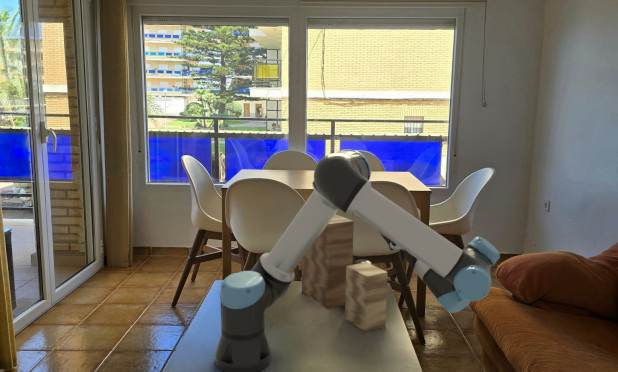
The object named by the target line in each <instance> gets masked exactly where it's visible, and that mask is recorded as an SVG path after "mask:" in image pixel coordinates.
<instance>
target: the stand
mask: <svg viewBox="0 0 618 372" xmlns="http://www.w3.org/2000/svg"><path fill="white" fill-rule="evenodd" d="M354 222H355V221H354V220H353V219H350V218H347V217H344V216H342V215H338V214H337V213H336V214H335V215H334V216H333V218H332V219H331V221H330V222H329V223H328V225H327V226H326V227H325V229H324V230H323V231H322V233H321V234H320V235H319V237H318V238H317V240H316V241H315V242H314V244H313V245H312V246H311V248H310V249H309V250H308V252H307V253H306V254H305V256H304V257H303V258H302V260H301V292H302V293H304V294H305V295H306V296H308V297H309V298H311V299H312V300H314V301H315V302H317V303H318V304H320V305H321V306H323V307H324V308H326V309H327V310H328V309H333V308H336V307H337V308H338V307H341V306H342V307H343V306H345V297H346V266H349V265H353V256H354V255H353V253H354V224H355V223H354Z"/></svg>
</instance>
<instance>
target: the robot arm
mask: <svg viewBox="0 0 618 372" xmlns="http://www.w3.org/2000/svg"><path fill="white" fill-rule="evenodd" d="M371 175H372V168H371V164H370V161H369V160H368V158H367V157H366V155H364V154H363V152H360V151H358V150H356V149H355V150H354V149H348V148H346V149H341V150H339V151H337V152H333V153H329V154H327V155H325V156H324V157H323V158H321V159H320V160H319V161H318V162H317V164H316V166H315V168H314V172H313V181H312V189H313V191H312V192H311V193H310V195H309V196H308V198H307V199H306V200H305V202H304V204H303V205H302V207H301V208H300V209H299V211H298V212H297V213H296V215H295V216H294V218H293V219H292V220H291V222H290V224H289V225H288V226H287V228H286V229H285V231H284V232H283V233H282V235H281V236H280V237H279V239H278V241H276V243H275V245H274V246H273V247H272V249H271V250H270V252H264V253H263V254H261V255H260V257H259V258H258V260H257V261H256V263H255V264H254V266H253V267H252V268H251V269H250V270H241V271H238V272H234V273H230V274H229V275H228V276H226V277H225V278H224V279H223V280H222V282H221V285H220V291H219V300H220V323H221V325H220V327H221V331H220V332H221V334H220V338H219V340H218V343H217V348H216V350H215V355H214V356H215V357H214V358H215V359H214V361H215V366H216V368H217V369H219V370H221V371H222V372H260V371H262V370H263V369H265V368H267V366H269V364H271V360H272V348H271V346H270V344H269V340H268V338H267V335H266V333H265V328H266V325H265V324H266V323H265V319H266V318H265V317H266V316H265V313H266V312H267V311H268V310H269V309H270V308H271V307H272V306H274V304H275V303H277V302H278V301H279V300H280V299H282V298H283V297H284V296H285V295H286V293H287V292H288V290H289V288H290V285H291V284H292V282H293V281H294V280H295V277H296V274H295V269H296V268H297V267H298V265H299V264H300V262H302V258H303V257H304V256H305V254H306V253H307V252H308V250H309V249H310V248H311V246H312V245H313V244H314V242H315V241H316V240H317V238H318V237H319V235H320V234H321V233H322V231H323V230H324V229H325V227H326V226H327V225H328V223H329V222H330V221H331V219H332V218H333V216H334V215H335V214H336V215H337V212H338V211H339V210H340V211H342V212H343V213H345V214H346V215H351V214H352V213H353V214H352V215H354V214H355V215H354V216H356V217H357V218H359V219H360V220H362V221H364V222H365V223H366V224H368V225H369V226H370V227H372V228H373V229H375V230H376V231H377V232H379V234H380V235H381V237H382V238H383V239H384V241H385V243H386V244H387V245H388V248H389V250H390V251H394V250H395V249H396V250H399V251H400V252H402V254H403V255H404V257H405V261H406V262H407V263H408V265H409V266H410V267H411V269H413V270H414V272H415V273H416V274H417V276H418V277H419V278H420V279H421V281H422V282H423V283H424V285H426V287H427V288H428V290H429V291H430V293H431V294H432V295H433V296H434V297H435V299H436V300H437V302H438V303H439V304H440V305H441V306H442V307H443V308H444V309H445V310H446V311H447V312H448V313H450V314H452V313H453V314H456V313H459V312H461V311H462V310H464V309H465V308H467V307H468V306H469V305H470V303H471V302H477V301H480V300H483V299H484V298H486V297H487V296H488V294H489V293H490V290H491V286H492V281H493V280H492V276H491V275H492V274H491V272H492V271H491V268H492V267H493V266H495V264H496V263H497V262H498V261H499V259H500V257H501V254H500V252H499V250H498V249H497V248H496V247H495V246H494V245H493V244H492V243H491V242H489V241H488V240H487V239H485V238H484V237H481V236H475V237H474V238H473V239H472V240H471V241H470V242H468V243H467V244H466V246H465V247H464V248H463V249H461V248H460V247H458V246H457V245H456V244H454V243H453V242H451V241H450V240H448V239H447V238H446V237H444V236H443V235H441V234H440V233H438V232H437V231H435V230H434V229H432V228H431V227H430V226H429V225H427V224H425V223H424V222H422V221H421V220H419V219H418V218H417V217H415V216H413V215H412V214H411V213H409V212H408V211H407V210H405V209H404V208H402V207H401V206H399V205H397V204H396V203H395V202H393V201H392V200H391V199H390V198H388V197H386V196H385V195H384V194H382V193H381V192H379V191H377V190H376V189H374V188H373V187H372V183H371V182H372V181H371V180H370V179H371Z"/></svg>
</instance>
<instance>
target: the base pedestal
mask: <svg viewBox="0 0 618 372" xmlns="http://www.w3.org/2000/svg"><path fill="white" fill-rule="evenodd" d="M387 292H388V271H386V270H383V269H381V268H379V267H377V266H375V265H374V264H372V263H371V264H369V263H367V262H364V263H359V264H355V263H354V264H352V265H349V266H346V297H345V305H344V319H345V320H346V321H348V322H350V323H351V324H352V325H354V326H356V327H358V329H360V330H362V331H363V332H365V333H367V332H370V331H374V330H377V329H380V328H384V327H386V324H387V323H386V321H387V296H388V295H387V294H388V293H387Z"/></svg>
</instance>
